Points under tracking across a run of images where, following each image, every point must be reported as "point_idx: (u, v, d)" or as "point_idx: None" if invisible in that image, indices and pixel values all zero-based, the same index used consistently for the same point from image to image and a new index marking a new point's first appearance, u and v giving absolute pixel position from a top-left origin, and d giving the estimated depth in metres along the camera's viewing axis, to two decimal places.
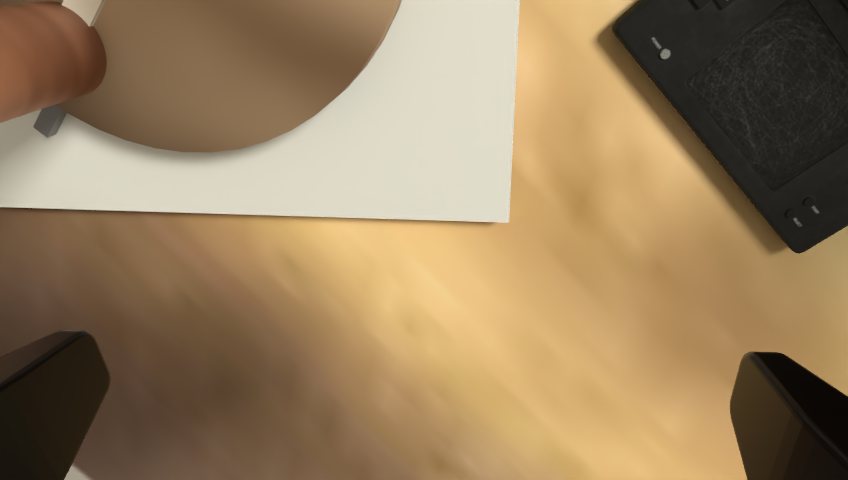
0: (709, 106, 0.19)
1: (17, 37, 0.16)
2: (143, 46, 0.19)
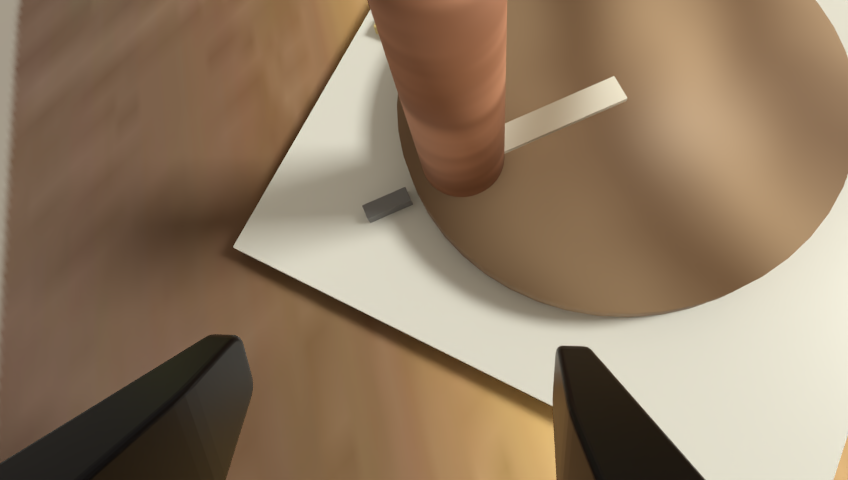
0: None
1: None
2: (537, 185, 0.20)
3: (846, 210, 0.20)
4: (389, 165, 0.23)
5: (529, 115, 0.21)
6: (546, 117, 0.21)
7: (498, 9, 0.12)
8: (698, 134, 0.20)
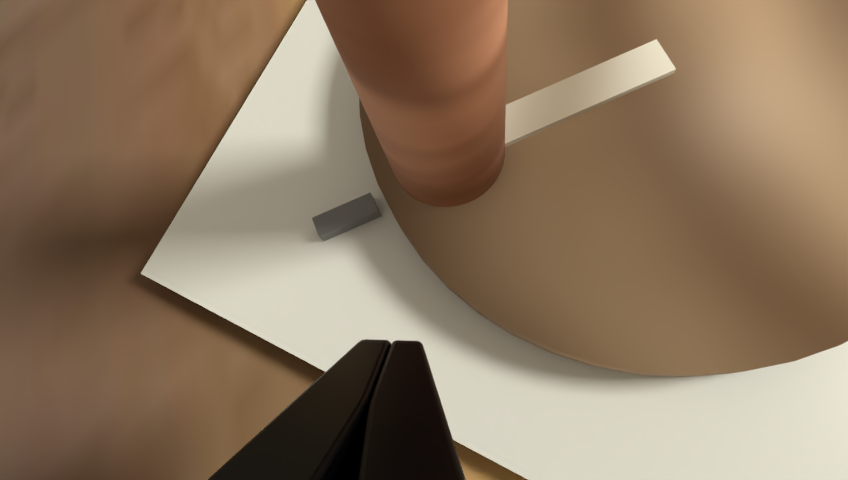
0: None
1: None
2: (551, 191, 0.14)
3: None
4: (350, 163, 0.17)
5: (539, 94, 0.15)
6: (563, 96, 0.15)
7: None
8: (777, 119, 0.14)
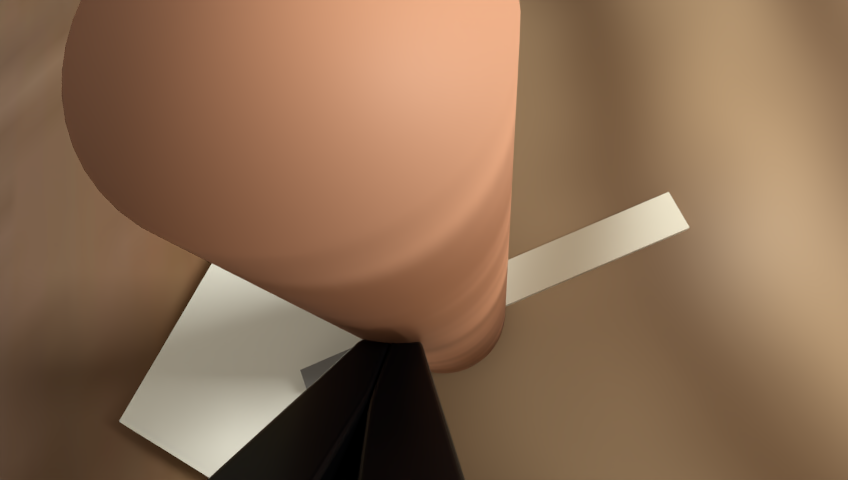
0: None
1: None
2: (554, 360, 0.13)
3: None
4: None
5: (542, 248, 0.14)
6: (568, 253, 0.14)
7: (491, 229, 0.05)
8: (798, 287, 0.13)
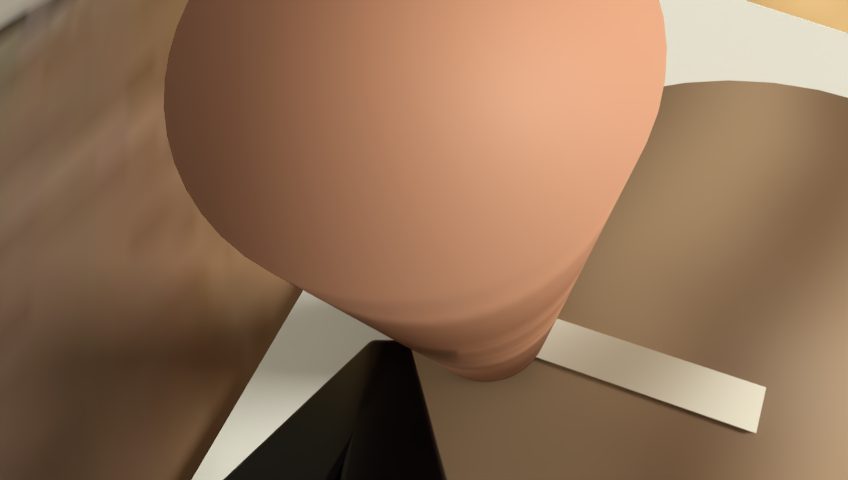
0: None
1: (543, 341, 0.10)
2: (538, 434, 0.13)
3: None
4: None
5: (608, 338, 0.13)
6: (625, 361, 0.13)
7: (491, 331, 0.05)
8: None
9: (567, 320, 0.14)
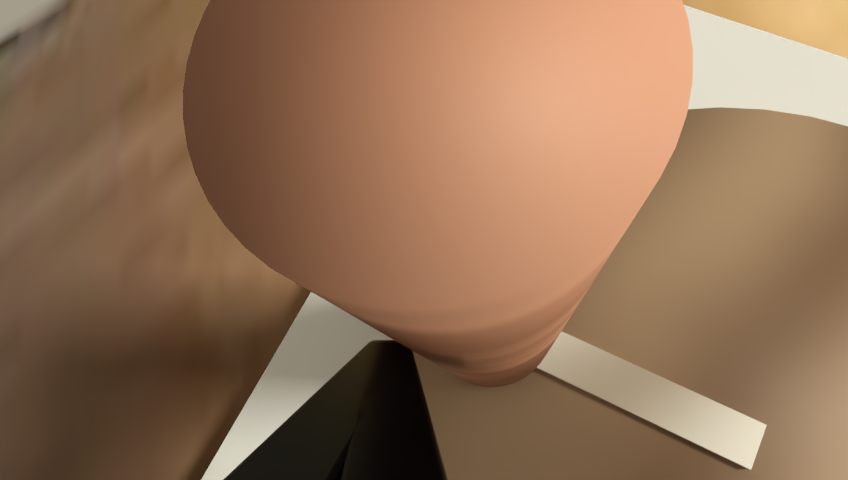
0: None
1: (545, 354, 0.10)
2: (530, 444, 0.13)
3: None
4: None
5: (611, 357, 0.13)
6: (626, 382, 0.13)
7: (488, 344, 0.05)
8: None
9: (572, 334, 0.14)
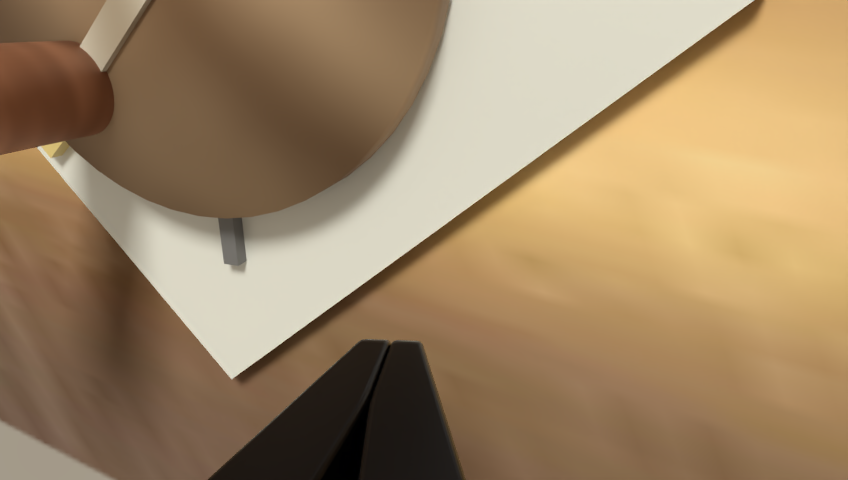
0: None
1: (7, 79, 0.15)
2: (148, 99, 0.18)
3: None
4: None
5: (102, 14, 0.17)
6: (115, 12, 0.17)
7: None
8: None
9: None
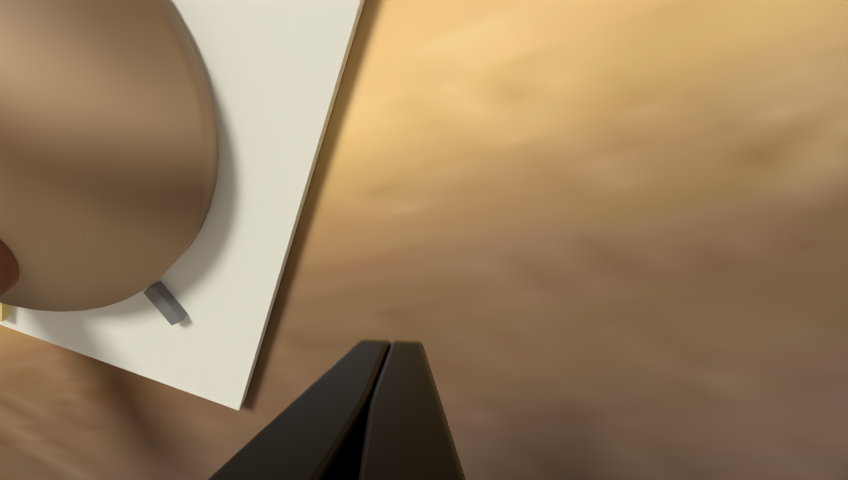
0: None
1: None
2: (33, 235, 0.21)
3: None
4: (131, 300, 0.24)
5: None
6: None
7: None
8: (48, 94, 0.18)
9: None
